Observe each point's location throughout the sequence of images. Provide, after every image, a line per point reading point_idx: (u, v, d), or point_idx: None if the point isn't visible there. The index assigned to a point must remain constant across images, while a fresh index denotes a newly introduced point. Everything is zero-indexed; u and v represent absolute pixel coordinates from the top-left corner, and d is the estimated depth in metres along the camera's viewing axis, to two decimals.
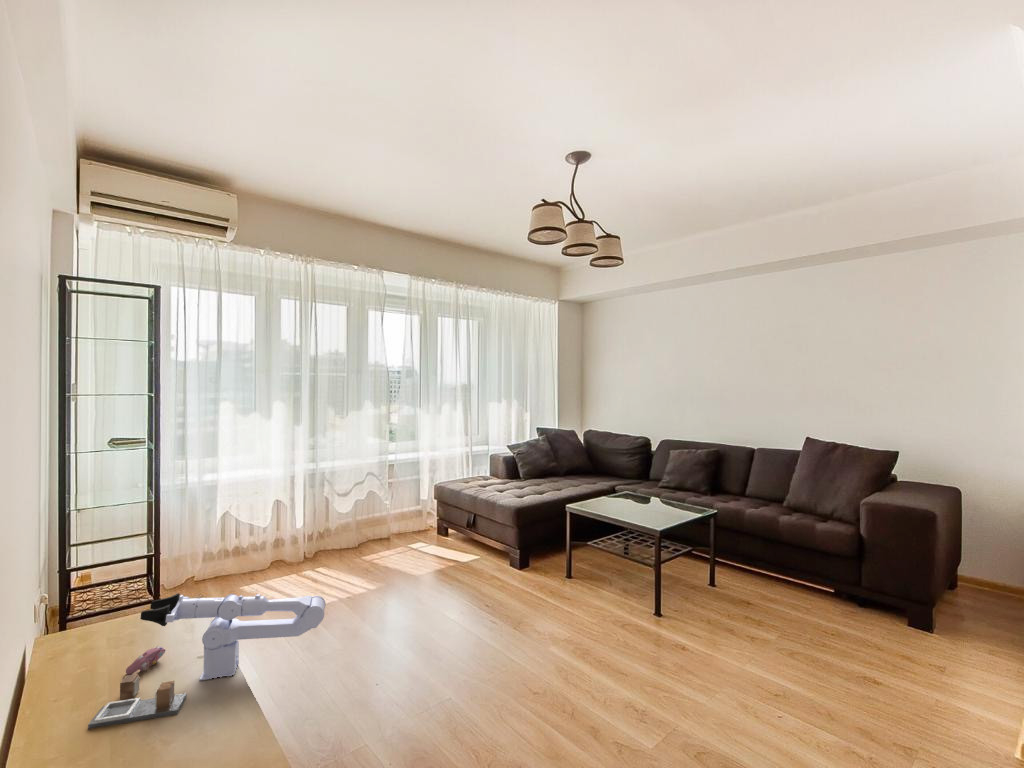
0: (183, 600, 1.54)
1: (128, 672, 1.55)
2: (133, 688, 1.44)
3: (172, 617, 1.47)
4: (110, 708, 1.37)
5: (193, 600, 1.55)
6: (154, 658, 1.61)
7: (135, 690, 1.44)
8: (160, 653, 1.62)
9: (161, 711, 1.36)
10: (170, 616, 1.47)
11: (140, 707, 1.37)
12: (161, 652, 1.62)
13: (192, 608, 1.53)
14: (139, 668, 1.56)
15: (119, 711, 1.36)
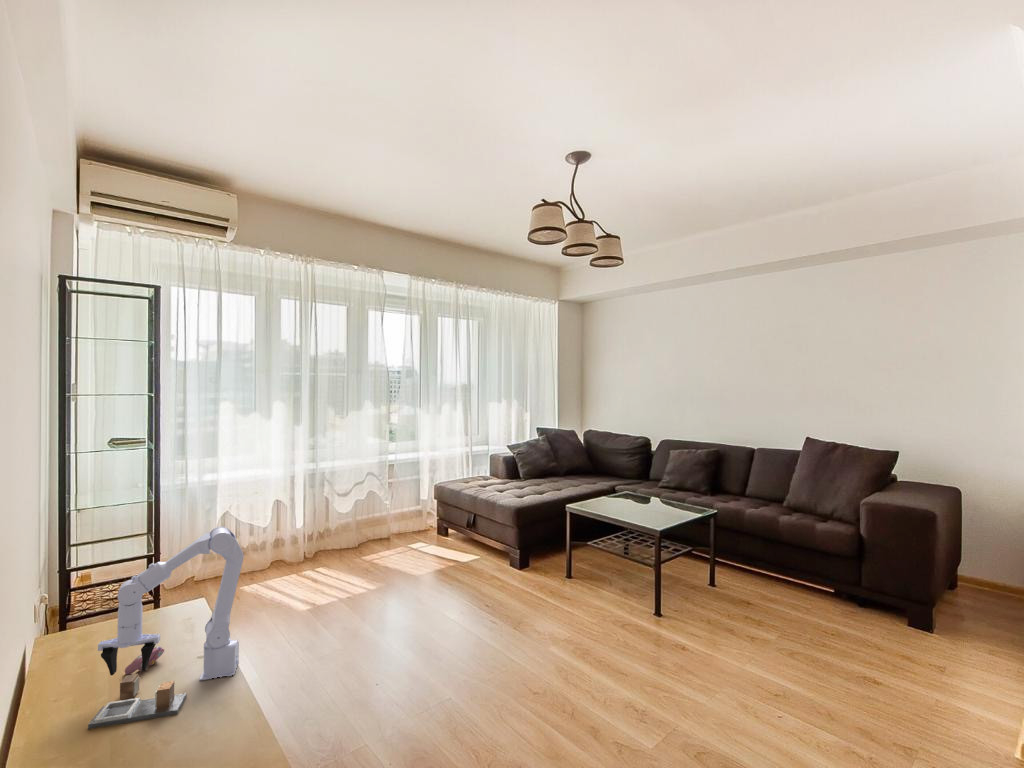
0: (128, 641, 1.43)
1: (126, 672, 1.55)
2: (133, 688, 1.44)
3: (158, 636, 1.47)
4: (110, 708, 1.37)
5: (129, 631, 1.43)
6: (153, 658, 1.61)
7: (135, 690, 1.44)
8: (159, 653, 1.62)
9: (161, 711, 1.36)
10: (158, 639, 1.47)
11: (140, 707, 1.37)
12: (160, 652, 1.62)
13: (139, 626, 1.45)
14: (138, 668, 1.56)
15: (119, 711, 1.36)
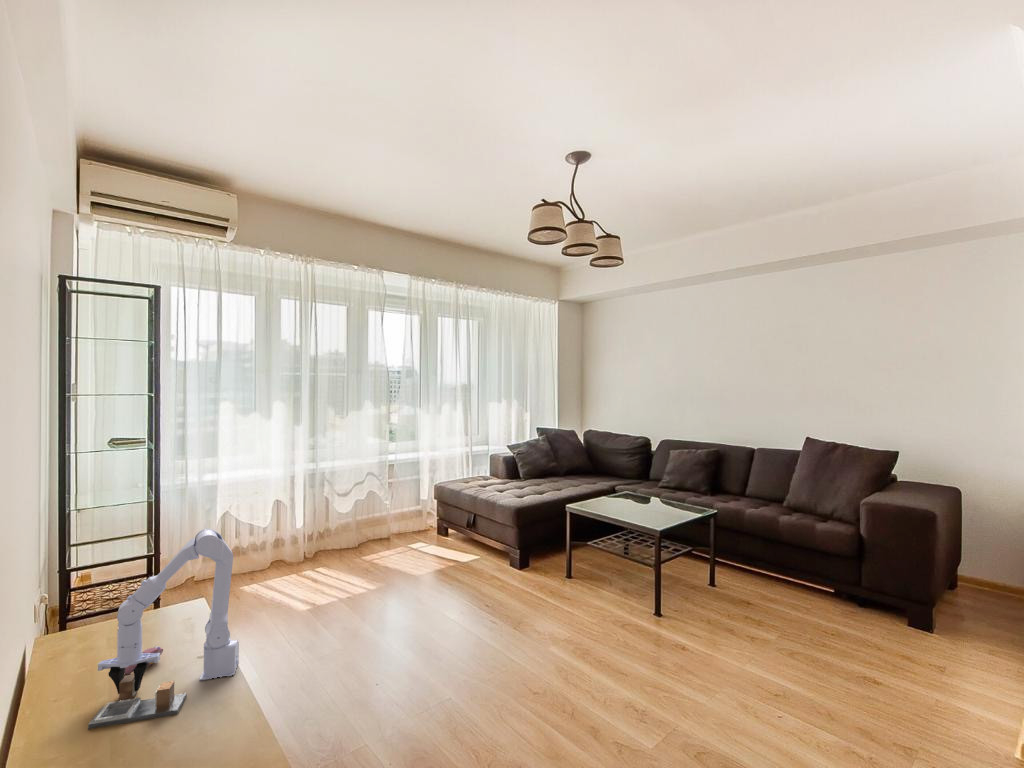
0: (128, 661, 1.43)
1: (125, 671, 1.55)
2: (132, 688, 1.43)
3: (158, 655, 1.47)
4: (110, 708, 1.37)
5: (129, 651, 1.43)
6: None
7: (134, 689, 1.44)
8: None
9: (161, 711, 1.36)
10: (158, 658, 1.46)
11: (140, 707, 1.37)
12: (159, 652, 1.62)
13: (139, 645, 1.45)
14: None
15: (119, 711, 1.36)
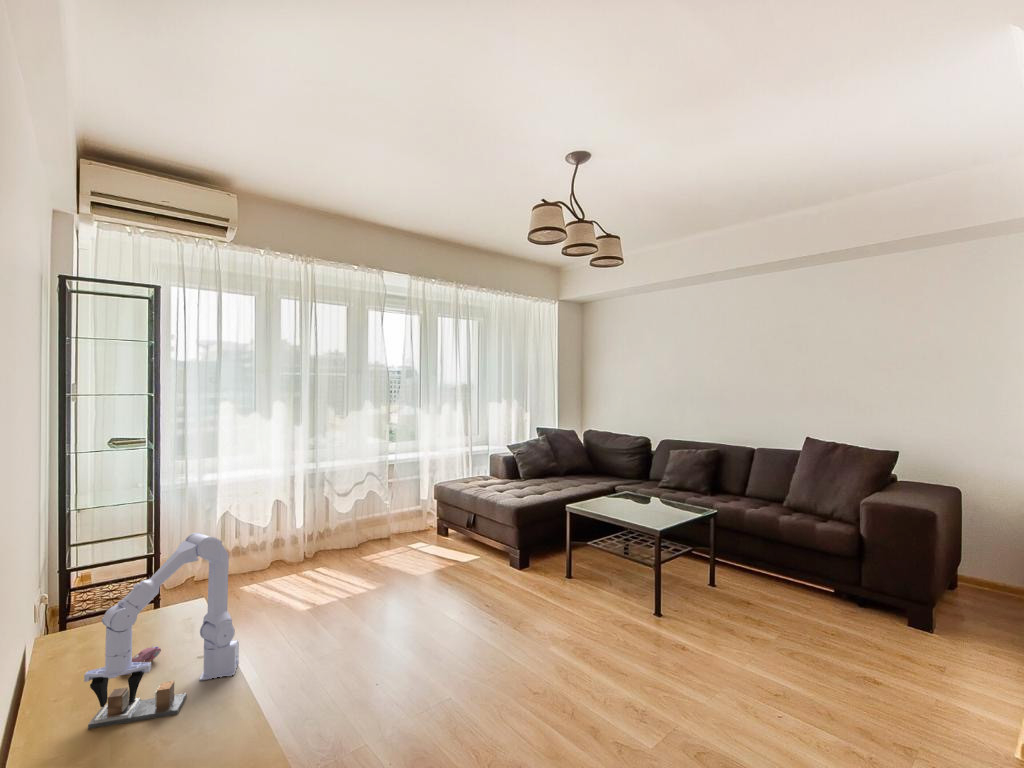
0: (117, 671, 1.33)
1: None
2: (122, 703, 1.35)
3: (149, 665, 1.38)
4: None
5: (118, 660, 1.34)
6: (150, 657, 1.61)
7: (124, 704, 1.35)
8: (156, 652, 1.62)
9: (161, 711, 1.36)
10: (149, 667, 1.37)
11: (140, 707, 1.37)
12: (157, 651, 1.62)
13: (128, 654, 1.36)
14: None
15: None
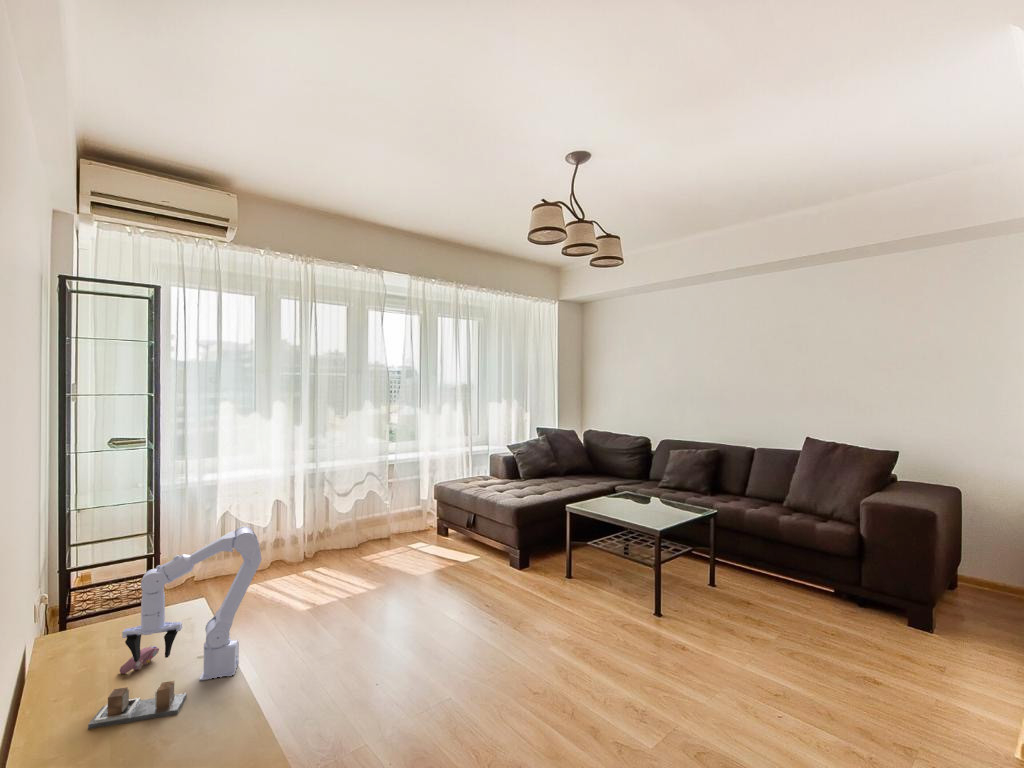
0: (152, 628, 1.46)
1: (121, 671, 1.56)
2: (122, 703, 1.35)
3: (180, 624, 1.50)
4: None
5: (152, 619, 1.46)
6: (148, 657, 1.61)
7: (124, 704, 1.35)
8: (154, 652, 1.62)
9: (161, 711, 1.36)
10: (180, 626, 1.50)
11: (140, 707, 1.37)
12: (155, 651, 1.63)
13: (162, 614, 1.48)
14: (133, 667, 1.56)
15: None
